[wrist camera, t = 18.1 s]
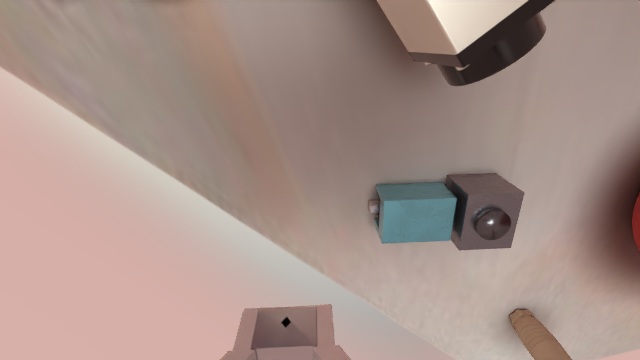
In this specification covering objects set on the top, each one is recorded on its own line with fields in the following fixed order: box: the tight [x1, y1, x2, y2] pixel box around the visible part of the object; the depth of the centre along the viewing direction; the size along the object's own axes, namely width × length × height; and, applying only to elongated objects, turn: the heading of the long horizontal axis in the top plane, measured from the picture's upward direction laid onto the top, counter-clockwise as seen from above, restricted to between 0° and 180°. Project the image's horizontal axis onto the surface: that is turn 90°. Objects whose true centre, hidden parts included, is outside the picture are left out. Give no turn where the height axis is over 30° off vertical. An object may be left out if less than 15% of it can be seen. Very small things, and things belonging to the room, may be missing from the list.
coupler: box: [369, 173, 524, 250], centre depth 37 cm, size 16×7×6 cm, turn 92°
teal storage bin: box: [375, 182, 457, 244], centre depth 38 cm, size 8×6×4 cm
